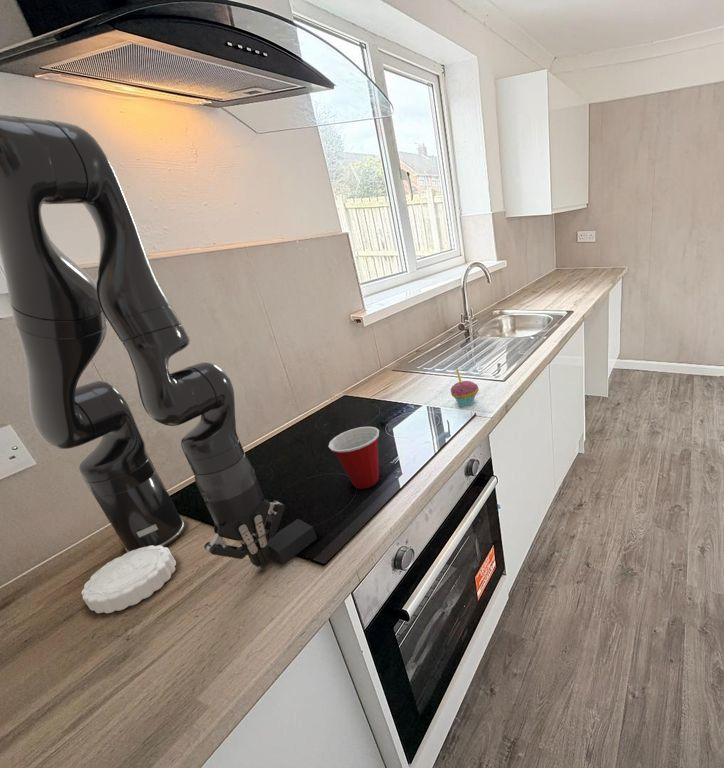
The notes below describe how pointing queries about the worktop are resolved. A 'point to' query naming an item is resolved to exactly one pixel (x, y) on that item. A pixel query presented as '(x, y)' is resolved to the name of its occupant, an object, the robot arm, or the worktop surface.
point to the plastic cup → (358, 455)
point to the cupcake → (464, 391)
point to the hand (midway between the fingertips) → (263, 563)
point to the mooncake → (128, 579)
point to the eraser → (291, 541)
